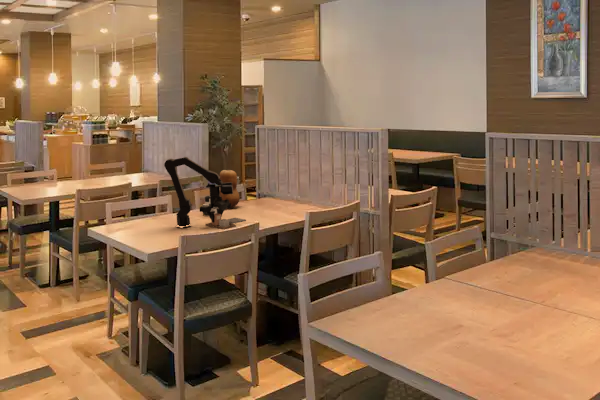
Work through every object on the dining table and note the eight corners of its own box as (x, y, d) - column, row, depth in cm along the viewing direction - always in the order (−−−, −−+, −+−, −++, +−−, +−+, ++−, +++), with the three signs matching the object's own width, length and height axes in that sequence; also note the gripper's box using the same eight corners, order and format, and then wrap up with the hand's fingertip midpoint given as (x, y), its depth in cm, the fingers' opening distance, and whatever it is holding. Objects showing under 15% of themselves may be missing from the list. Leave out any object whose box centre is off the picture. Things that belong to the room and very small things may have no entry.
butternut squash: (244, 207, 392) (242, 169, 388) (228, 210, 383) (226, 172, 378) (230, 205, 402) (228, 168, 397) (214, 208, 392) (212, 170, 387)
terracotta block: (216, 225, 338) (215, 215, 337) (211, 224, 341) (211, 214, 340) (221, 224, 341) (221, 214, 340) (217, 223, 344) (216, 213, 343)
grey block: (224, 228, 333) (224, 221, 333) (219, 227, 336) (218, 220, 335) (229, 226, 337) (229, 219, 336) (224, 225, 339) (223, 219, 338)
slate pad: (232, 223, 343) (232, 222, 343) (221, 221, 350) (221, 220, 350) (245, 220, 350) (245, 219, 350) (235, 218, 357) (234, 217, 357)
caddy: (223, 229, 330) (223, 227, 330) (205, 225, 341) (205, 223, 341) (235, 226, 336) (235, 224, 336) (217, 222, 347) (217, 221, 347)
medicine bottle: (202, 215, 369) (201, 196, 367) (209, 213, 375) (208, 194, 373) (212, 216, 366) (211, 197, 364) (218, 214, 372) (217, 195, 370)
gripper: (210, 198, 326) (212, 226, 329) (236, 193, 339) (238, 220, 342) (198, 196, 334) (199, 224, 336) (224, 192, 347) (225, 218, 349)
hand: (216, 221), depth 341 cm, fingers closed on terracotta block, 4 cm apart
